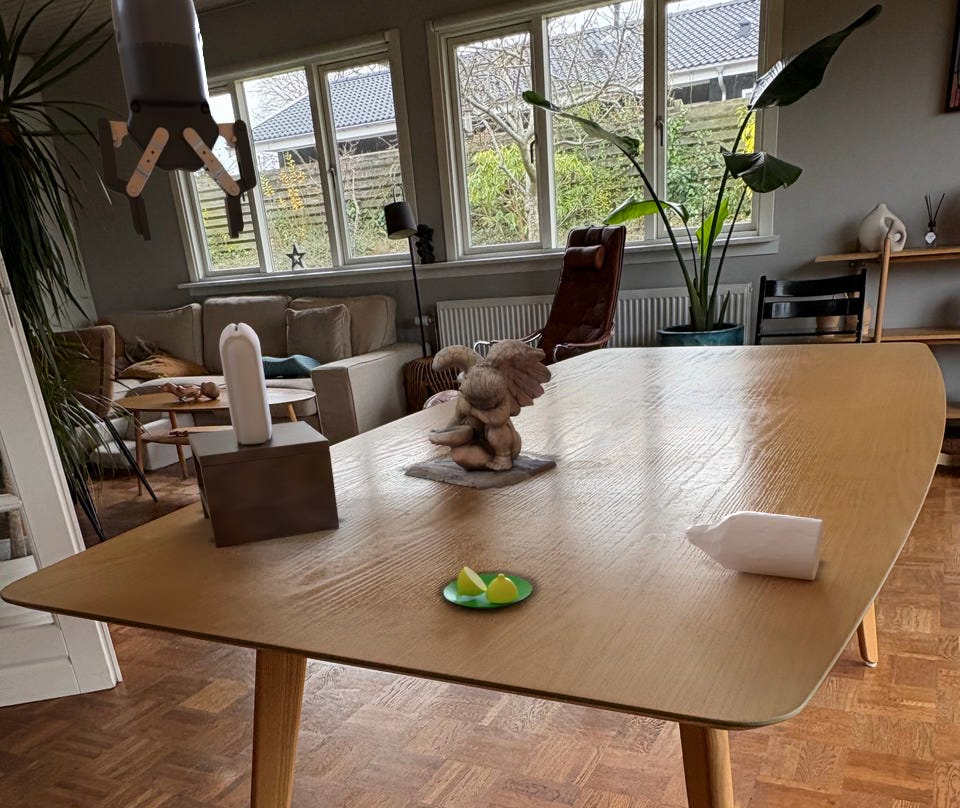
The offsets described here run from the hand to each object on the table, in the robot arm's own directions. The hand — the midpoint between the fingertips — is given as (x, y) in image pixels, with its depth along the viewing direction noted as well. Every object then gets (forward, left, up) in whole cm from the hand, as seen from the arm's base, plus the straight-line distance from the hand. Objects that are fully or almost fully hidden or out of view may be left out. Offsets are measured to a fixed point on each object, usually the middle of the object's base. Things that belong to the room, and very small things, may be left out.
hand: (191, 239), depth 85 cm
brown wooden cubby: (+4, +2, -31) cm, 31 cm away
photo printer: (+3, +2, -21) cm, 21 cm away
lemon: (+18, -33, -31) cm, 48 cm away
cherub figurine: (+36, +12, -31) cm, 49 cm away
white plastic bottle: (+42, -39, -31) cm, 65 cm away
